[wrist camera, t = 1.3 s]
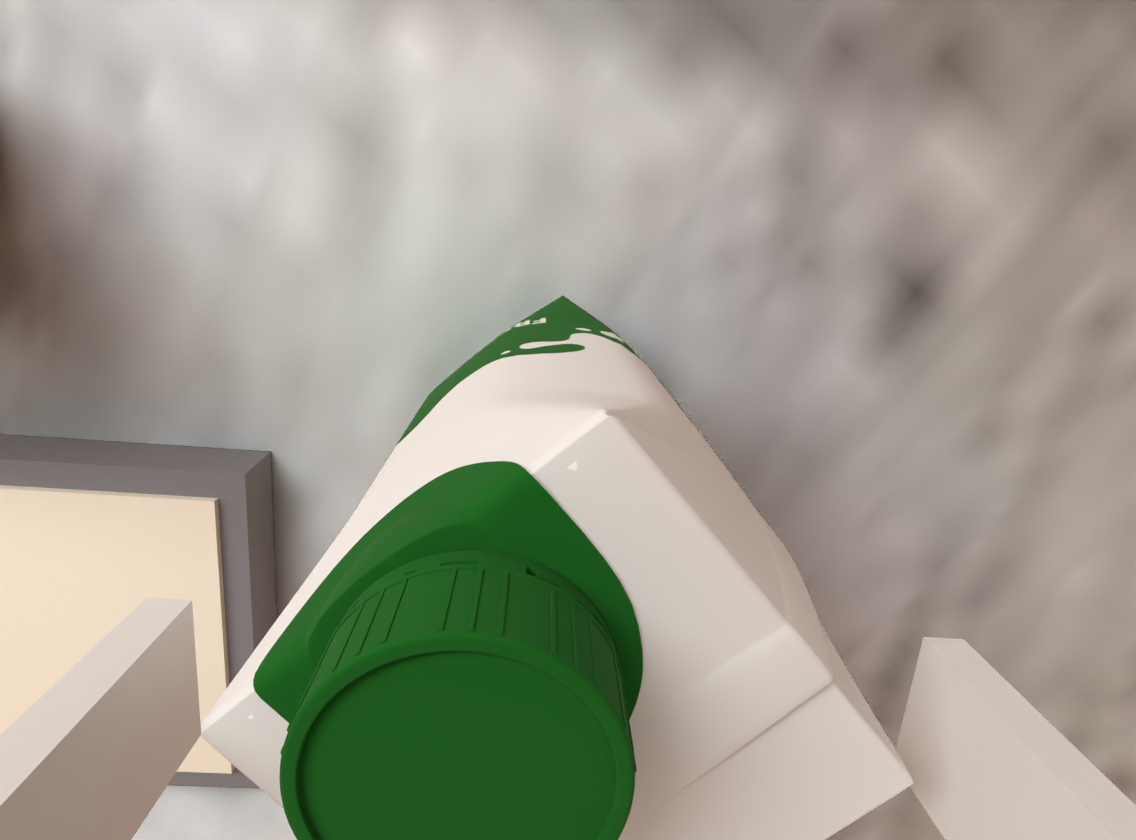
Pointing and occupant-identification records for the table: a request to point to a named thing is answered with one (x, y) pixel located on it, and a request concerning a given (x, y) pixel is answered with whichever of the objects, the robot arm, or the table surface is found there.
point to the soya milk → (555, 632)
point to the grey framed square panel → (132, 562)
